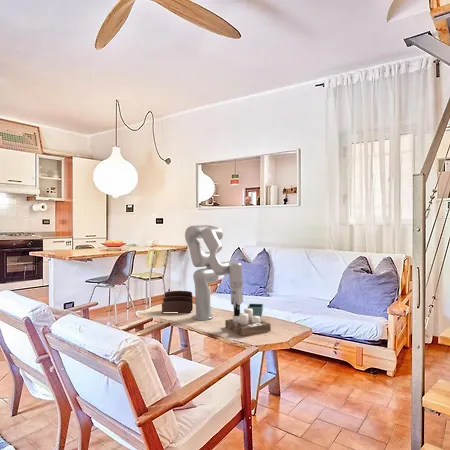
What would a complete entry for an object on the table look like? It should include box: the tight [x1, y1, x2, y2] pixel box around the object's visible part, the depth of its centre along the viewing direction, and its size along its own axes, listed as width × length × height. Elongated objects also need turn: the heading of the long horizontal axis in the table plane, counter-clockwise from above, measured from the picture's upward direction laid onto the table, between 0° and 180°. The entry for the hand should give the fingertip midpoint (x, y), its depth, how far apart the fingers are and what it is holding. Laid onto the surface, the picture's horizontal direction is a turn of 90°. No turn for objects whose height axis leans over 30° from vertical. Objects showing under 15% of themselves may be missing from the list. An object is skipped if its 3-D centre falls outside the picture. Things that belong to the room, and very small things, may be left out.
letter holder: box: [161, 290, 194, 314], centre depth 241 cm, size 10×20×14 cm, turn 87°
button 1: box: [232, 314, 240, 323], centre depth 202 cm, size 5×5×6 cm
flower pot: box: [247, 303, 264, 320], centre depth 217 cm, size 9×9×9 cm
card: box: [248, 323, 262, 327], centre depth 192 cm, size 4×7×1 cm, turn 117°
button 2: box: [239, 312, 249, 327], centre depth 195 cm, size 5×5×6 cm
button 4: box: [252, 316, 261, 324], centre depth 198 cm, size 5×5×6 cm
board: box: [224, 318, 272, 337], centre depth 199 cm, size 20×18×4 cm
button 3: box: [243, 307, 253, 321], centre depth 205 cm, size 5×5×6 cm
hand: (237, 315), depth 201 cm, fingers closed
